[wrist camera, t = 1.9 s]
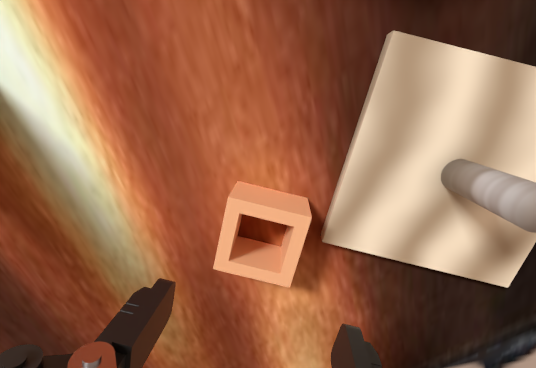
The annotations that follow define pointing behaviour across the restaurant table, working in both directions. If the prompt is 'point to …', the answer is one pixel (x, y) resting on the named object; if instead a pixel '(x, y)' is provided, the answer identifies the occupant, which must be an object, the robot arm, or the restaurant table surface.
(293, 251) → the orange square hollow block
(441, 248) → the peg stand
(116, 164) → the restaurant table surface
